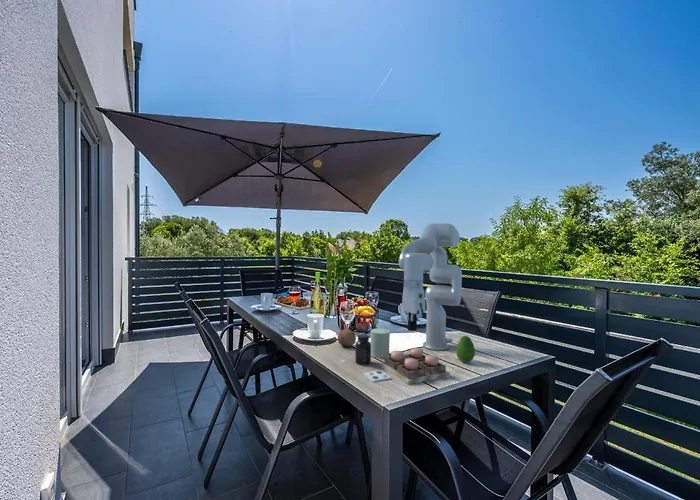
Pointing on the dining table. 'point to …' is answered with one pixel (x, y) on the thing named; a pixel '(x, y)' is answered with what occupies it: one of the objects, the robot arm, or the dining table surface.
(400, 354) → the button
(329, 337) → the dining table surface
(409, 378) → the board
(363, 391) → the dining table surface
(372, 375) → the tile
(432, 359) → the button
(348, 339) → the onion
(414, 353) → the button
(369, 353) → the supplement bottle
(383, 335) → the can
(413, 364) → the button
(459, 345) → the avocado
